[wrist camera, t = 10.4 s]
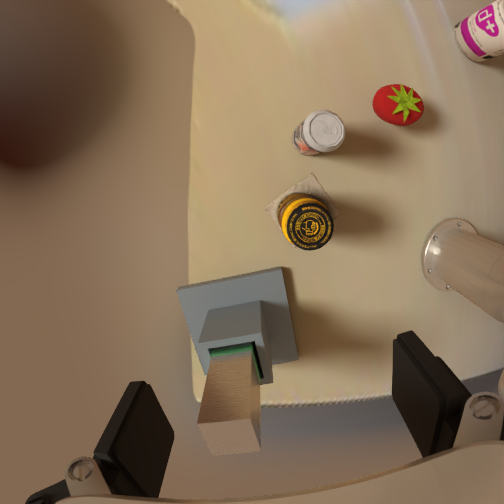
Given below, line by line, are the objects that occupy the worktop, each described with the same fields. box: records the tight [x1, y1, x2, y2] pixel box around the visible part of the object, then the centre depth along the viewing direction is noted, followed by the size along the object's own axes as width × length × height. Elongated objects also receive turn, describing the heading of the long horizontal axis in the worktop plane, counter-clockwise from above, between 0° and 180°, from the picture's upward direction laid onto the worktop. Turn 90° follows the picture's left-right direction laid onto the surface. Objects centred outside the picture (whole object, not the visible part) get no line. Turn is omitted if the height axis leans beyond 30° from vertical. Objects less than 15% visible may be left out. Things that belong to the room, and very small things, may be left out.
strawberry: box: [373, 84, 424, 126], centre depth 36 cm, size 6×8×10 cm
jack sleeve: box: [176, 267, 299, 385], centre depth 44 cm, size 16×16×12 cm
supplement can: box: [454, 0, 504, 62], centre depth 29 cm, size 8×8×15 cm
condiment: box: [264, 173, 340, 251], centre depth 40 cm, size 7×8×12 cm
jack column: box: [197, 341, 261, 455], centre depth 34 cm, size 5×5×17 cm
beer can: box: [292, 110, 346, 156], centre depth 37 cm, size 5×5×12 cm
